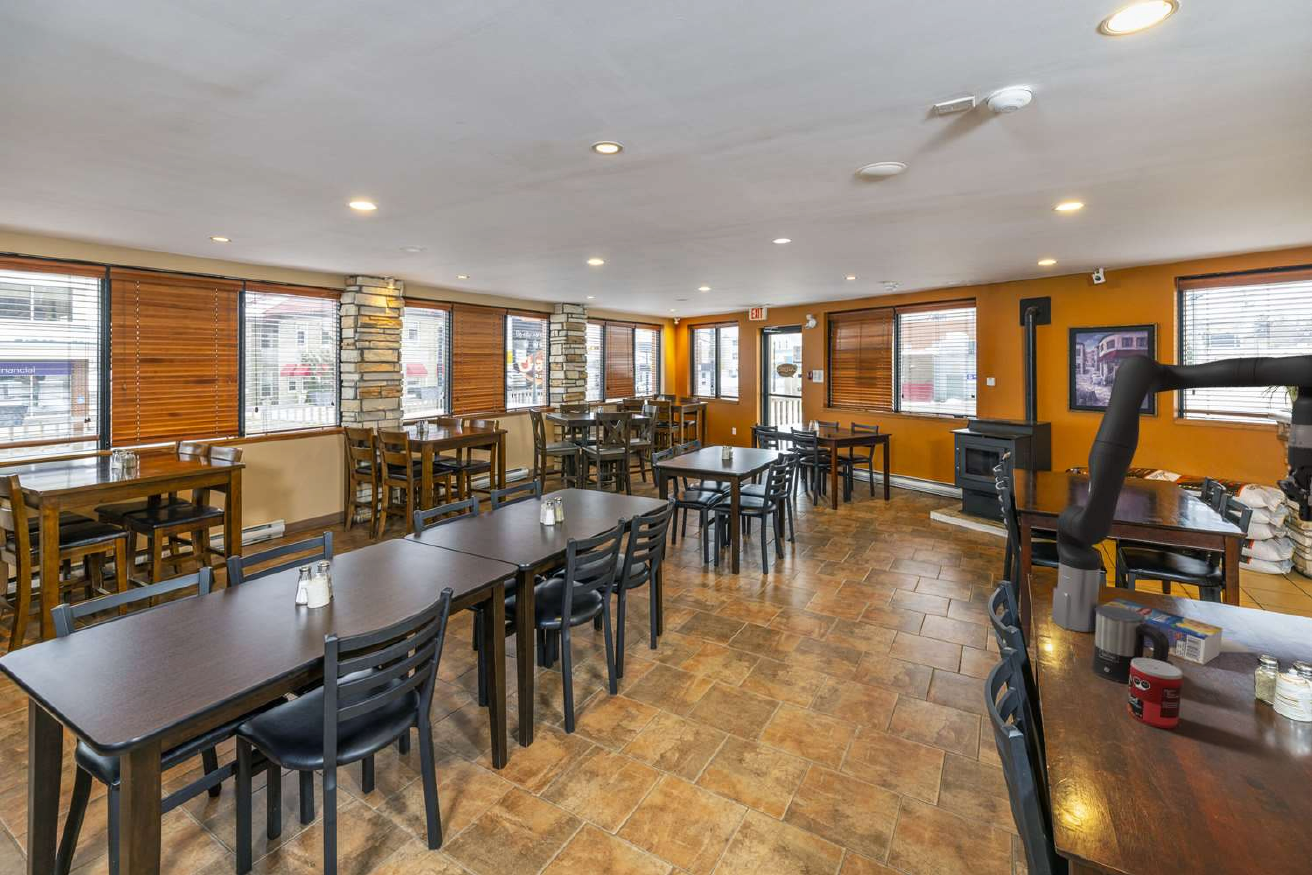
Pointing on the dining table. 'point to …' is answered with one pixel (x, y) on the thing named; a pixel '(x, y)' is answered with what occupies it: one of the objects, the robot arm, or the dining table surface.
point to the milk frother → (1123, 642)
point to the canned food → (1154, 692)
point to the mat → (1230, 647)
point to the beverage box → (1179, 633)
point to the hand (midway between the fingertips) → (1308, 521)
